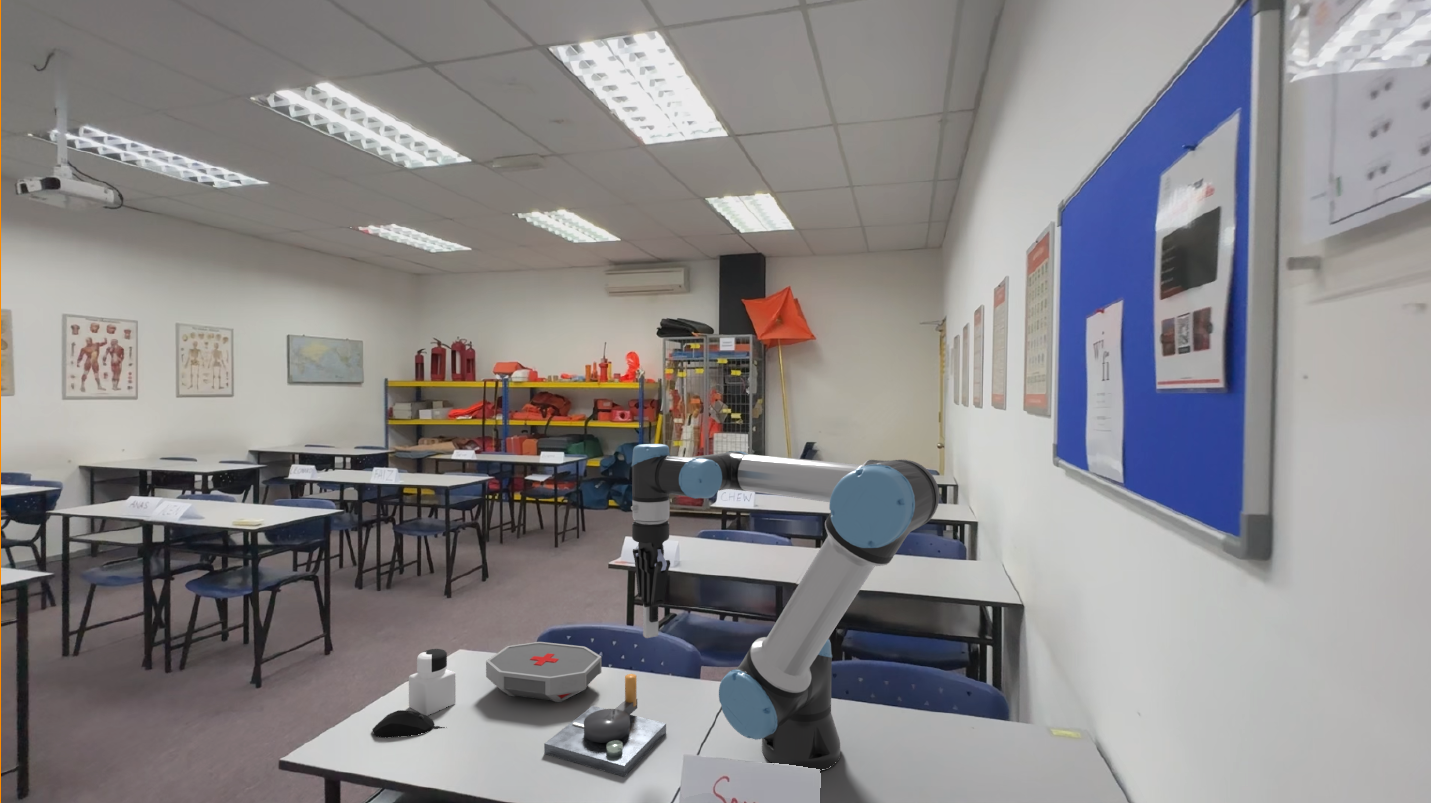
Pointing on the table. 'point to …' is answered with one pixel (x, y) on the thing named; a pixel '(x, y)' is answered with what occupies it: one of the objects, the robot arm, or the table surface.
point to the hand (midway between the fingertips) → (650, 635)
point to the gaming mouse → (403, 724)
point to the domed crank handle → (613, 717)
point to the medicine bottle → (432, 683)
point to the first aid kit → (543, 670)
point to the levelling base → (606, 744)
